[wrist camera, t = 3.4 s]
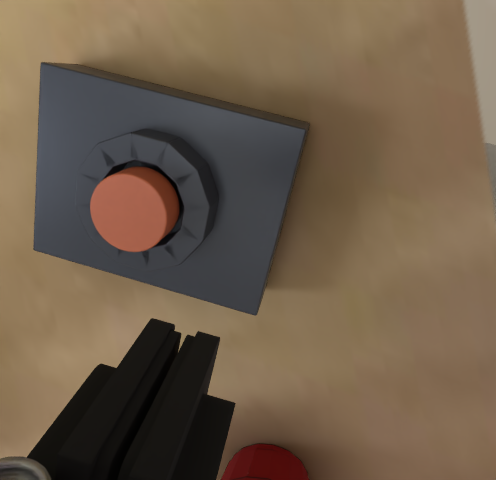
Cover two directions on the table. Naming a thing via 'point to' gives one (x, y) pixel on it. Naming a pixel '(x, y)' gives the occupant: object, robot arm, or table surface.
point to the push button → (134, 208)
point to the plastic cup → (264, 464)
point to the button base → (177, 173)
